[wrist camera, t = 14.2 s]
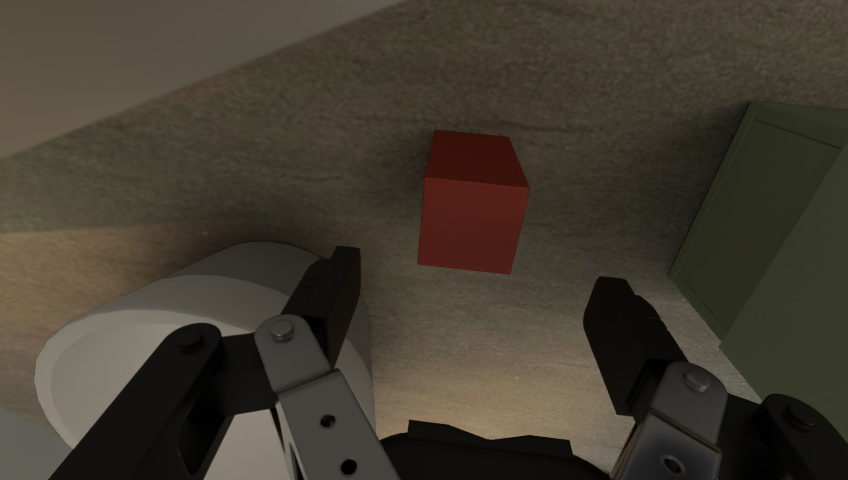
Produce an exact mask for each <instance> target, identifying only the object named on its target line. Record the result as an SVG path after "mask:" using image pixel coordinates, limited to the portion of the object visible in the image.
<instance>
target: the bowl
mask: <svg viewBox="0 0 848 480" xmlns="http://www.w3.org/2000/svg"><path fill="white" fill-rule="evenodd" d="M319 259H320V257H318V256H316V255H314V254H312V253H310V252H308V251H305V250H303V249H300V248H297V247H294V246H291V245H286V244H281V243H275V242H248V243H242V244H237V245H234V246H231V247H229V248H227V249H224V250H222V251H219V252H217V253H215V254H213V255H211V256H209V257H207V258H204V259H202V260H200V261H198V262H196V263H194V264H192V265H190V266H187V267H185V268H183V269H181V270H179V271H177V272H175V273H173V274H170V275H168V276H166V277H164V278H162V279H160V280H158V281H156V282H153V283H151V284H149V285H146V286H144V287H141V288H139V289H137V290H135V291H133V292H131V293H128V294H126V295H124V296H122V297H120V298H118V299H116V300H113V301H111V302H109V303H107V304H105V305H103V306H101V307H99V308H96V309H94V310H92V311H90V312H88V313H86V314H84V315H81V316H79V317H77V318H75V319H73V320H71V321H69V322H68V323H66V324H65V325H64V326H63V327H61V328H60V329H59V330H58V331H56V332H55V333H54V334H53V335H52V336H50V338H49V339H48V341H47V343H46V344H45V346H44V348H43V350H42V351H41V353H40V355H39V357H38V358H37V363H36V371H35V378H34V381H35V386H36V390H37V395H38V400H39V402H40V404H41V406H42V408H43V410H44V412H45V414H46V416H47V418H48V420H49V422H50V423H51V425H52V426H53V427H54V428H55V430H56V431H57V432H58V433H59V435H60V436H61V437H62V439H63V440H64V441H65V442H66V443H67V444H68V445H69V446H70V447H71V448H72V449H74V448H75V446H76V445H77V444H78V443H79V442H80V440H81V439H82V438H83V437H84V436H85V434H86V433H87V432H88V431H89V429H90V428H91V427H92V426H93V425H94V423H95V422H96V421H97V420H98V419H99V417H100V416H101V415H102V414H103V412H104V411H105V410H106V409H107V408H108V406H109V405H110V404H111V403H112V402H113V400H114V399H115V398H116V397H117V395H118V394H119V393H120V392H121V391H122V389H123V388H124V387H125V386H126V385H127V383H128V382H129V381H130V380H131V378H132V377H133V376H134V375H135V374H136V372H137V371H138V370H139V369H140V368H141V366H142V365H143V364H144V363H145V361H146V360H147V359H148V358H149V357H150V355H151V354H152V353H153V352H154V351H155V349H156V348H157V347H158V346H159V344H160V343H161V342H162V341H163V340H164V339H165V337H166V336H168V335H169V334H170V333H171V332H173V331H175V330H176V329H178V328H180V327H183V326H186V325H189V324H194V323H210V324H213V325H215V326H217V327H218V328H219V329H220V331H221V334H222V337H223V336H231V335H240V334H247V333H252V332H255V331H256V329H257V328H258V327H259V325H260V324H261V323H263V322H264V321H265V320H267V319H269V318H271V317H274V316H277V315H280V313H281V312H282V310H283V308H284V307H285V305H286V303H287V302H288V300H289V298H290V297H291V295H292V293H293V292H294V290H295V289H296V287H297V286H298V284H299V282H300V280H301V279H302V278H303V275H304V274H305V272H306V270H307V269H308V267H309V266H310V265H311V264H313V263H314V262H316V261H317V260H319ZM335 368H338V369H340V370H341V372H342V373H343V375H344V377H345V379H346V381H347V382H348V384H349V386H350V388H351V390H352V391H353V393H354V395H355V397H356V399H357V401H358V402H359V404H360V406H361V408H362V410H363V412H364V413H365V415H366V417H367V419H368V421H369V423H370V424H371V426H372V428H373V430H374V432H375V434H376V422H375V406H374V395H373V383H372V367H371V350H370V334H369V323H368V315H367V311H366V308H365V306H364V303H363V300H362V298H361V297H360V295H359V300H358V303H357V306H356V309H355V312H354V315H353V317H352V320H351V323H350V326H349V328H348V331H347V334H346V337H345V340H344V342H343V345H342V348H341V351H340V353H339V356H338V359H337V362H336V365H335V367H334V369H335ZM204 480H290V477H289V473H288V469H287V465H286V462H285V459H284V456H283V453H282V450H281V447H280V444H279V441H278V438H277V434H276V431H275V428H274V425H273V422H272V419H271V416H270V413H269V410H268V409H267V410H261V411H256V412H250V413H244V414H238V415H235V417H234V419H233V421H232V423H231V425H230V427H229V429H228V431H227V433H226V435H225V437H224V439H223V441H222V443H221V445H220V447H219V449H218V451H217V453H216V455H215V457H214V459H213V461H212V463H211V465H210V467H209V470H208V472H207V474H206V476H205V478H204Z"/></svg>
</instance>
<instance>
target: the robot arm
mask: <svg viewBox="0 0 848 480" xmlns="http://www.w3.org/2000/svg"><path fill="white" fill-rule="evenodd" d="M360 287H361V254H360V249H359V248H354V247H345V246H337V247H336V249H335V251H334V253H333V254H332V256H331V258H330V259H322V258H320V259H319V260H317V261H316V262H314V263H313V264H311V265H310V266H309V267H308V269H307V270H306V272H305V274H304V275H303V278H302V279H301V280H300V282H299V284H298V286H297V287H296V289H295V290H294V292H293V293H292V295H291V297H290V298H289V300H288V302H287V303H286V305H285V307H284V308H283V310H282V312H281V313H280V315H277V316H274V317H271V318H269V319H267V320H265V321H264V322H263V323H261V324H260V325H259V327H258V328H257V329H256V331H255V332H252V333H247V334H240V335H231V336H223V337H222V334H221V331H220V329H219V328H218V327H217V326H215V325H213V324H210V323H194V324H189V325H186V326H183V327H180V328H178V329H176V330H175V331H173V332H171V333H170V334H169V335H168V336H166V337H165V339H164V340H163V341H162V342H161V343H160V344H159V346H158V347H157V348H156V349H155V351H154V352H153V353H152V354H151V355H150V357H149V358H148V359H147V360H146V361H145V363H144V364H143V365H142V366H141V368H140V369H139V370H138V371H137V372H136V374H135V375H134V376H133V377H132V378H131V380H130V381H129V382H128V383H127V385H126V386H125V387H124V388H123V389H122V391H121V392H120V393H119V394H118V395H117V397H116V398H115V399H114V400H113V402H112V403H111V404H110V405H109V406H108V408H107V409H106V410H105V411H104V412H103V414H102V415H101V416H100V417H99V419H98V420H97V421H96V422H95V423H94V425H93V426H92V427H91V428H90V429H89V431H88V432H87V433H86V434H85V436H84V437H83V438H82V439H81V440H80V442H79V443H78V444H77V445H76V446H75V448H74V449H73V450H72V451H71V453H70V454H69V455H68V456H67V457H66V459H65V460H64V461H63V462H62V464H61V465H60V466H59V467H58V468H57V470H56V471H55V472H54V473H53V474H52V476H51V477H50V478H49V479H48V480H204V478H205V476H206V474H207V472H208V470H209V467H210V465H211V463H212V461H213V459H214V457H215V455H216V453H217V451H218V449H219V447H220V445H221V443H222V441H223V439H224V437H225V435H226V433H227V431H228V429H229V427H230V425H231V423H232V421H233V419H234V417H235V415H238V414H244V413H250V412H256V411H261V410H267V409H268V410H269V413H270V416H271V419H272V422H273V425H274V428H275V431H276V434H277V438H278V441H279V444H280V447H281V450H282V453H283V456H284V459H285V462H286V465H287V469H288V473H289V477H290V480H717V478H718V480H848V443H847V442H846V441H845V440H844V438H843V437H842V436H841V435H840V434H839V432H838V431H837V430H836V429H835V428H834V426H833V425H832V424H831V423H830V422H829V421H828V420H827V419H826V418H825V417H824V416H823V415H822V414H821V413H820V412H818V411H817V410H816V409H814V408H813V407H811V406H810V405H808V404H806V403H805V402H803V401H801V400H799V399H796V398H794V397H791V396H788V395H784V394H777V393H776V394H770V395H768V396H767V397H766V398H765V399H764V400H763V402H762V403H761V404H758V403H755V402H752V401H749V400H746V399H743V398H740V397H737V396H735V395H732V394H729V393H727V390H726V388H725V387H724V385H723V384H722V382H721V381H720V380H719V379H718V378H717V377H716V376H714V375H713V374H712V373H710V372H709V371H707V370H706V369H704V368H702V367H700V366H698V365H696V364H693V363H689V361H688V360H687V358H686V357H685V355H684V354H683V352H682V350H681V349H680V347H679V346H678V344H677V343H676V341H675V340H674V338H673V337H672V335H671V334H670V332H669V331H667V327H666V326H665V324H664V323H663V321H661V318H660V317H659V315H658V313H657V312H656V310H655V309H654V307H653V306H652V305H650V304H649V303H648V302H647V301H646V300H645V299H643V298H642V297H641V296H638V295H635V294H634V292H633V290H632V289H631V287H630V286H629V284H628V282H627V281H626V280H625V279H621V278H613V277H604V276H600V277H599V278H598V279H597V280H596V283H595V285H594V288H593V291H592V293H591V296H590V299H589V301H588V304H587V307H586V309H585V312H584V317H583V326H584V331H585V333H586V336H587V338H588V341H589V344H590V346H591V349H592V351H593V354H594V357H595V359H596V362H597V364H598V367H599V370H600V372H601V375H602V377H603V380H604V383H605V385H606V388H607V390H608V393H609V396H610V398H611V401H612V403H613V406H614V409H615V411H616V414H617V415H624V416H632V417H634V420H635V422H636V423H635V424H634V426H633V428H632V430H631V432H630V434H629V436H628V438H627V440H626V442H625V444H624V446H623V448H622V450H621V453H620V455H619V457H618V459H617V461H616V463H615V465H614V467H613V469H612V471H611V473H610V475H609V476H608V475H607V474H605V473H604V472H603V471H601V470H600V469H599V468H597V467H596V466H594V465H593V464H591V463H589V462H588V461H586V460H584V459H582V458H580V457H578V456H575V455H573V453H572V449H571V445H570V441H569V440H564V439H556V438H548V437H541V436H533V435H526V436H518V437H511V438H503V439H495V440H489V439H485V438H482V437H480V436H477V435H474V434H472V433H469V432H466V431H464V430H461V429H458V428H456V427H453V426H450V425H447V424H439V423H431V422H423V421H415V420H409V425H408V432H406V433H399V434H396V435H392V436H389V437H386V438H384V439H381V440H379V439H378V437H377V435H376V434H375V432H374V430H373V428H372V426H371V424H370V423H369V421H368V419H367V417H366V415H365V413H364V412H363V410H362V408H361V406H360V404H359V402H358V401H357V399H356V397H355V395H354V393H353V391H352V390H351V388H350V386H349V384H348V382H347V381H346V379H345V377H344V375H343V373H342V372H341V370H340V369H338V368H335V369H334V367H335V365H336V362H337V359H338V356H339V353H340V351H341V348H342V345H343V342H344V340H345V337H346V334H347V331H348V328H349V326H350V323H351V320H352V317H353V315H354V312H355V309H356V306H357V303H358V300H359V295H360Z"/></svg>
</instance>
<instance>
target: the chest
mask: <svg viewBox="0 0 848 480" xmlns="http://www.w3.org/2000/svg"><path fill="white" fill-rule="evenodd" d="M847 140H848V110H841V109H830V108H820V107H809V106H799V105H788V104H778V103H767V102H757V101H752V102H751V103H750V104H749V107H748V109H747V111H746V113H745V115H744V117H743V119H742V121H741V123H740V125H739V128H738V130H737V132H736V134H735V136H734V138H733V140H732V142H731V144H730V146H729V149H728V151H727V153H726V155H725V157H724V159H723V161H722V163H721V165H720V167H719V170H718V172H717V174H716V176H715V178H714V180H713V182H712V184H711V186H710V188H709V191H708V193H707V195H706V197H705V199H704V201H703V203H702V205H701V207H700V209H699V212H698V214H697V216H696V218H695V220H694V222H693V224H692V226H691V228H690V230H689V232H688V235H687V237H686V239H685V241H684V243H683V245H682V247H681V249H680V251H679V253H678V256H677V258H676V260H675V262H674V264H673V266H672V268H671V270H670V272H669V274H668V277H669V278H670V279H671V280H672V282H674V284H675V285H676V286H677V288H678V289H679V290H680V291H681V293H682V294H683V295H684V296H685V298H686V299H687V300H688V301H689V303H690V304H691V305H692V306H693V307H694V309H695V310H696V311H697V312H698V314H699V315H700V316H701V317H702V319H703V320H704V321H705V322H706V324H707V325H708V326H709V327H710V328H711V330H712V331H713V332H714V333H715V335H716V336H717V337H718V338H719V340H721V341H722V340H723V339H724V337H725V336H726V334H727V332H728V331H729V329H730V328H731V326H732V324H733V323H734V321H735V320H736V318H737V316H738V315H739V313H740V312H741V310H742V308H743V307H744V305H745V304H746V302H747V300H748V299H749V297H750V296H751V294H752V292H753V291H754V289H755V288H756V286H757V284H758V283H759V281H760V280H761V278H762V276H763V275H764V273H765V272H766V270H767V268H768V267H769V265H770V264H771V262H772V260H773V259H774V257H775V256H776V254H777V252H778V251H779V249H780V248H781V246H782V244H783V243H784V241H785V240H786V238H787V236H788V235H789V233H790V232H791V230H792V228H793V227H794V225H795V224H796V222H797V220H798V219H799V217H800V216H801V214H802V212H803V211H804V209H805V208H806V206H807V204H808V203H809V201H810V200H811V198H812V196H813V195H814V193H815V192H816V190H817V188H818V187H819V185H820V184H821V182H822V180H823V179H824V177H825V176H826V174H827V172H828V171H829V169H830V168H831V166H832V164H833V163H834V161H835V160H836V158H837V156H838V155H839V153H840V152H841V150H842V148H843V147H844V145H845V144H846V142H847Z"/></svg>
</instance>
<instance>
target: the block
mask: <svg viewBox="0 0 848 480" xmlns="http://www.w3.org/2000/svg"><path fill="white" fill-rule="evenodd" d="M529 191H530V187H529V185H528V182H527V180H526V178H525V175H524V173H523V170H522V168H521V166H520V163H519V161H518V158H517V156H516V154H515V151H514V149H513V146H512V144H511V142H510V139H509V137H501V136H492V135H482V134H472V133H462V132H452V131H442V130H435V133H434V137H433V142H432V147H431V151H430V156H429V161H428V165H427V170H426V175H425V181H424V193H423V205H422V216H421V228H420V240H419V251H418V265H428V266H437V267H446V268H455V269H464V270H473V271H482V272H491V273H500V274H510V273H511V269H512V264H513V260H514V256H515V251H516V247H517V243H518V238H519V234H520V230H521V225H522V221H523V217H524V212H525V208H526V204H527V199H528V195H529Z"/></svg>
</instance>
